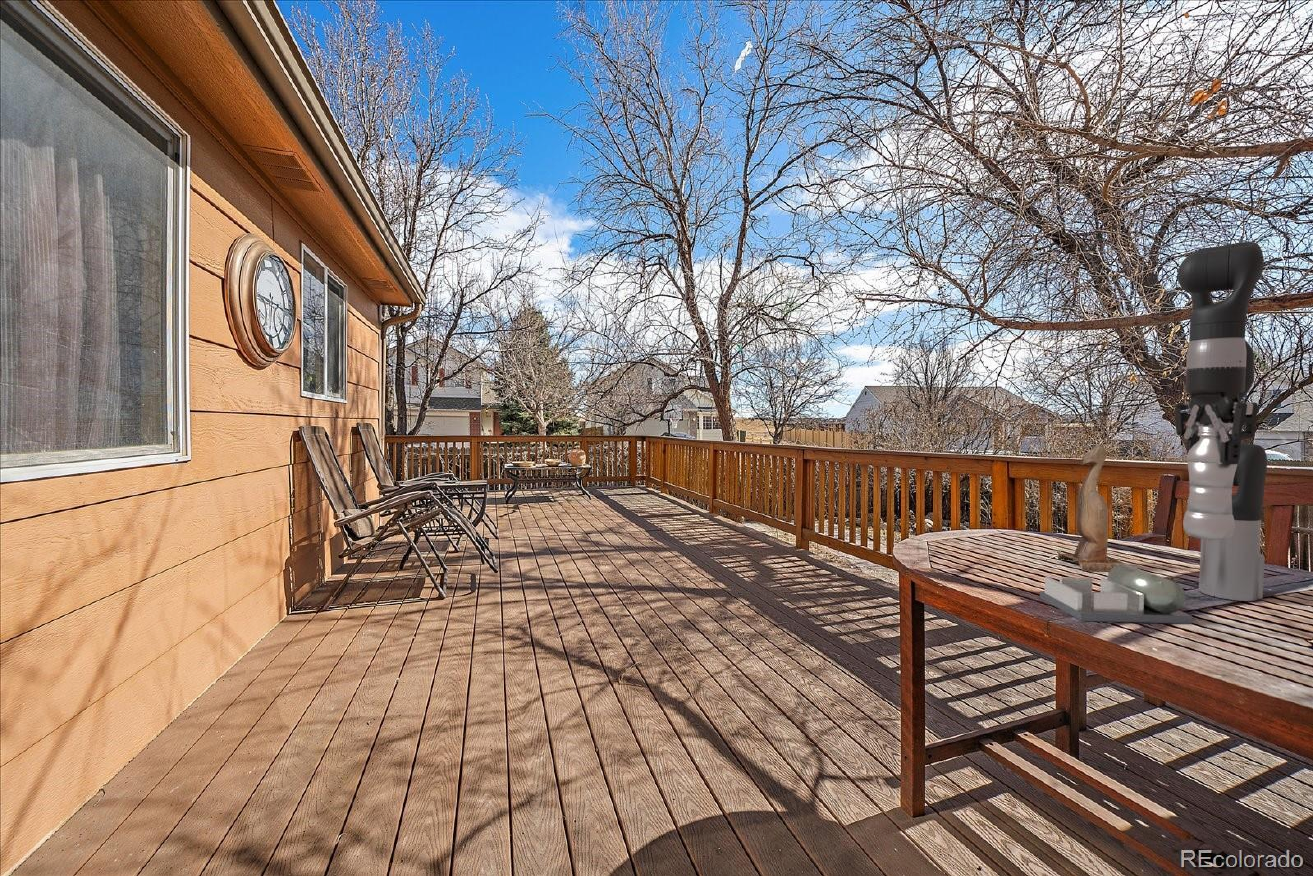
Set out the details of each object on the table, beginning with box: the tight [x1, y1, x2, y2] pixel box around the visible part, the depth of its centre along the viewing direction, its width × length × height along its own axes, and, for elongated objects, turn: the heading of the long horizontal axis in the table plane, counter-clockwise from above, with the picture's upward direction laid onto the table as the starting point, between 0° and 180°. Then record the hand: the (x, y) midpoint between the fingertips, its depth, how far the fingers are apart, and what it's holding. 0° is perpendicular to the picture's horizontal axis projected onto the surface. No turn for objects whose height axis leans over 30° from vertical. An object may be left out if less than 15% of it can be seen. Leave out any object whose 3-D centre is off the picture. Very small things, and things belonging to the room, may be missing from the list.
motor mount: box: [1039, 563, 1193, 625], centre depth 120 cm, size 20×14×8 cm
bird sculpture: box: [1057, 444, 1127, 573], centre depth 152 cm, size 11×12×32 cm
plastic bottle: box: [1182, 426, 1237, 541], centre depth 103 cm, size 6×7×20 cm
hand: (1211, 462), depth 103 cm, fingers closed on plastic bottle, 6 cm apart
